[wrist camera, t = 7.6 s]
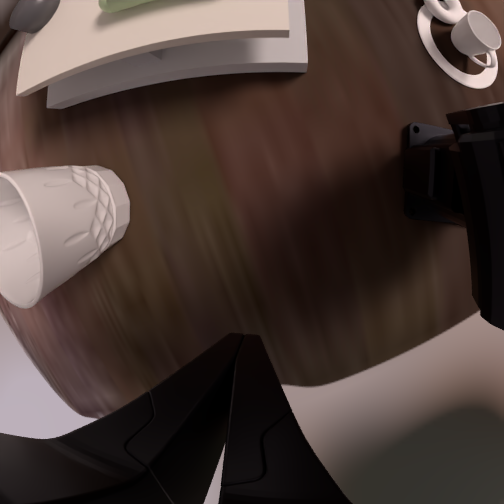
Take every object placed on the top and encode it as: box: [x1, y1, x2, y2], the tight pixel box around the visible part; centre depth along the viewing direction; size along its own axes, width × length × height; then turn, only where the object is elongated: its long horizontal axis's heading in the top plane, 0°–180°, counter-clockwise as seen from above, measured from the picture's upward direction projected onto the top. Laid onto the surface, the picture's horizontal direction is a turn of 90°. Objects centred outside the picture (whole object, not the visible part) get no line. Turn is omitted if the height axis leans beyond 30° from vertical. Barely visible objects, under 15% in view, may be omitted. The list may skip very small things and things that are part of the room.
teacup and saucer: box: [417, 0, 501, 89], centre depth 10 cm, size 9×8×4 cm
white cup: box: [0, 165, 130, 308], centre depth 16 cm, size 8×8×10 cm
